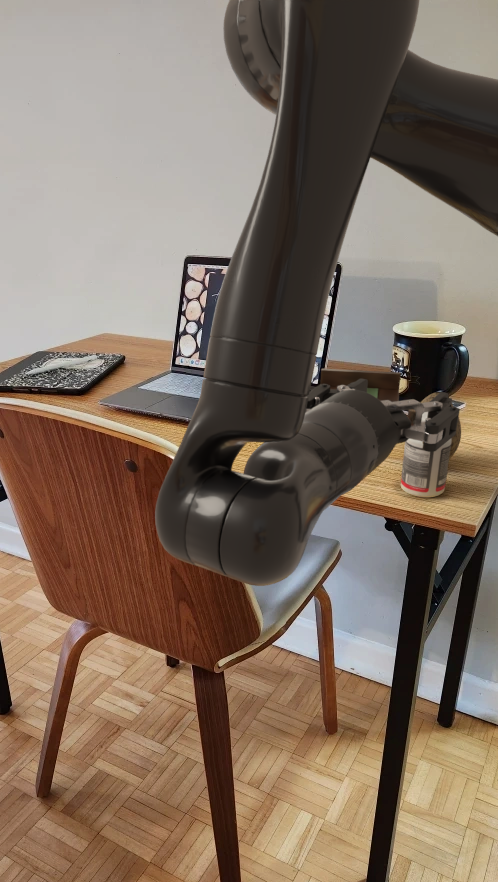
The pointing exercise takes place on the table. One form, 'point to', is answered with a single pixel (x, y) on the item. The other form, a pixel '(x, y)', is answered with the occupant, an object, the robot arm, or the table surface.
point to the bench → (378, 381)
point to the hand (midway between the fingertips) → (402, 394)
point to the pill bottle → (424, 468)
